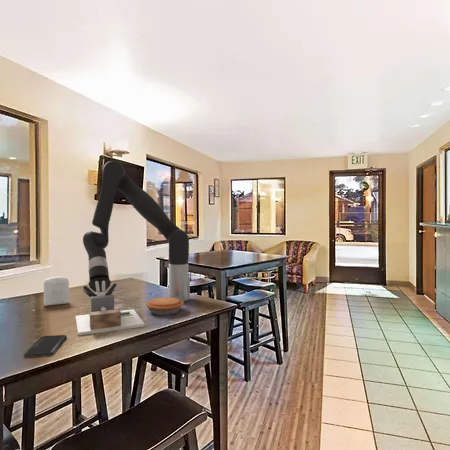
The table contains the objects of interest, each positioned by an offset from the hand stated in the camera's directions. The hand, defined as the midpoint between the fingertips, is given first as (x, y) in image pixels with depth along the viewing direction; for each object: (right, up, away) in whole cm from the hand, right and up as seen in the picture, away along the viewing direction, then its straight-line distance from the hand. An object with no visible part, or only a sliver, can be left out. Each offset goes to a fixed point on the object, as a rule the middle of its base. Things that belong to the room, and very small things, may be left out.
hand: (101, 306), depth 130 cm
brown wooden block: (+5, -4, -10) cm, 12 cm away
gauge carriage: (+5, -4, -2) cm, 6 cm away
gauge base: (+3, -5, -2) cm, 7 cm away
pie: (+22, -5, +12) cm, 26 cm away
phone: (-8, -6, -26) cm, 28 cm away
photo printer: (-29, -5, +24) cm, 38 cm away
